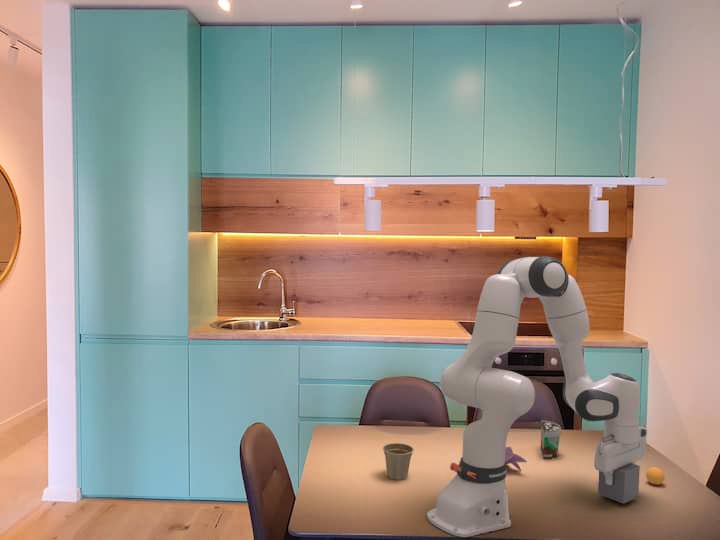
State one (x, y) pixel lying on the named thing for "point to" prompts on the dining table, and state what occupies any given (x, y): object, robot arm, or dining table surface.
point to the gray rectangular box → (621, 484)
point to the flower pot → (397, 460)
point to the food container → (550, 439)
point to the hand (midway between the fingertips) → (618, 480)
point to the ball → (655, 475)
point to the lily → (513, 458)
